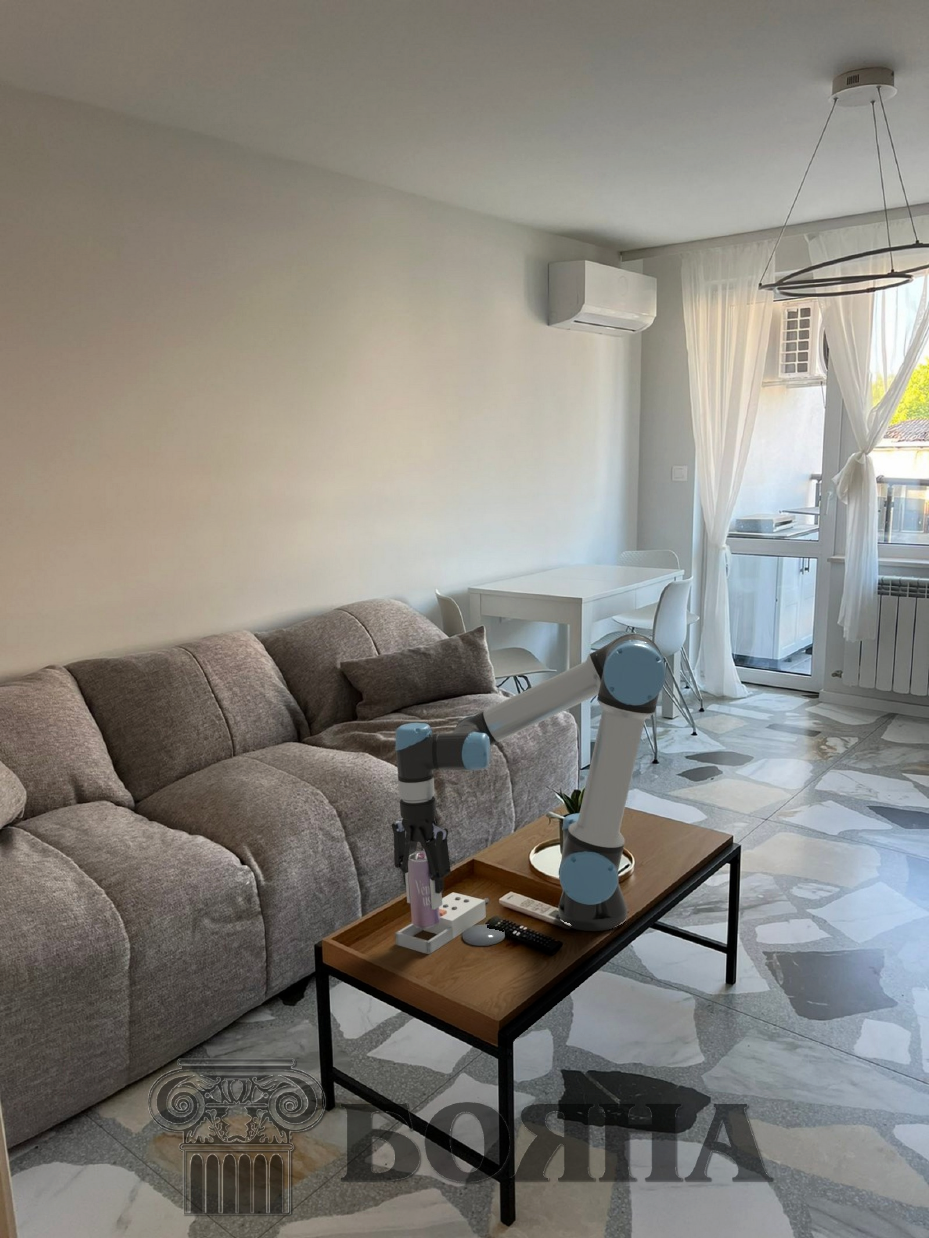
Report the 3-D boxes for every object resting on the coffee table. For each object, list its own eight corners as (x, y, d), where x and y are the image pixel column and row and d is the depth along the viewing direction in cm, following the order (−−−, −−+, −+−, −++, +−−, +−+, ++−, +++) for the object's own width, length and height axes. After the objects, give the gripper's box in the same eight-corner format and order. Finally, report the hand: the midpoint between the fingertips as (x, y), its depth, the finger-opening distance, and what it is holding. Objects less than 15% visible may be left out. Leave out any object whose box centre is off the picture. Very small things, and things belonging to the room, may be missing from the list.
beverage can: (440, 916, 203) (435, 849, 201) (440, 928, 197) (435, 859, 195) (412, 918, 203) (407, 851, 201) (411, 930, 197) (406, 861, 195)
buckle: (471, 898, 221) (470, 879, 221) (503, 905, 216) (502, 886, 215) (395, 944, 199) (394, 923, 199) (429, 954, 194) (427, 933, 194)
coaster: (512, 932, 202) (512, 930, 202) (488, 949, 195) (488, 946, 195) (478, 923, 207) (478, 921, 207) (454, 939, 200) (454, 937, 200)
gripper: (464, 798, 194) (471, 905, 197) (394, 787, 205) (401, 889, 208) (442, 808, 188) (449, 919, 191) (371, 796, 199) (379, 901, 202)
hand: (424, 903), depth 199 cm, fingers closed on beverage can, 6 cm apart
